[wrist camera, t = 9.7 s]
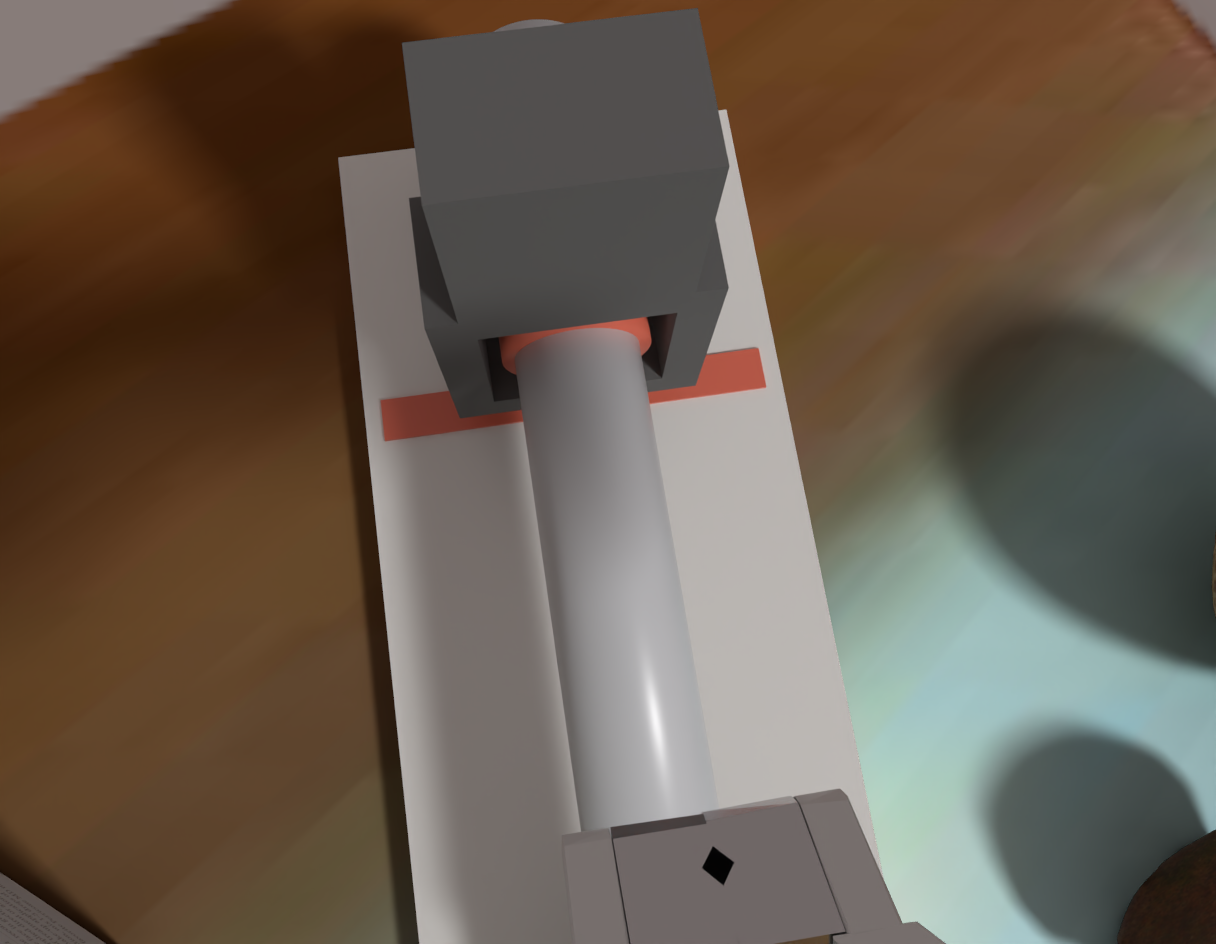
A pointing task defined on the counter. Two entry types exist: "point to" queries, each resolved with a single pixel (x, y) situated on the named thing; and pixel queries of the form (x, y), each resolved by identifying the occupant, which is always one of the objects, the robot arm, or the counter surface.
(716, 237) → the collar
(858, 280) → the counter surface
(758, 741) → the pipe stand
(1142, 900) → the bolt
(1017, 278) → the counter surface
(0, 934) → the skincare box
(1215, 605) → the natural sponge
